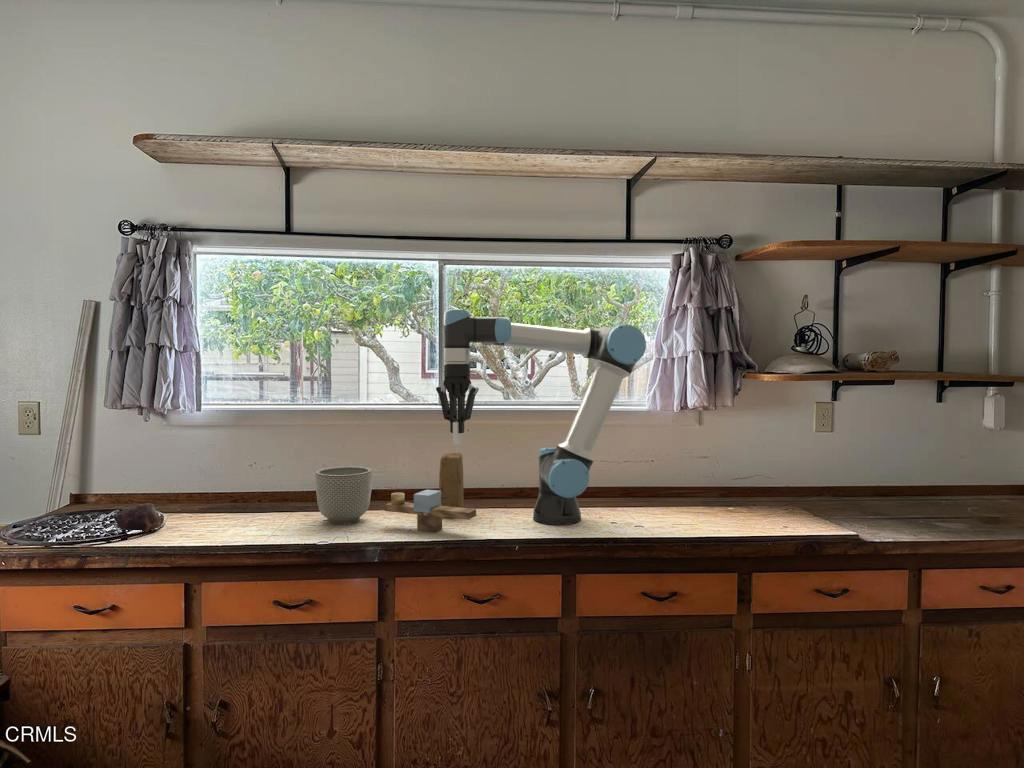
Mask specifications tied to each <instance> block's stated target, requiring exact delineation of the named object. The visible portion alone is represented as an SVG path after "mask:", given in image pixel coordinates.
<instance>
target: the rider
mask: <svg viewBox="0 0 1024 768" xmlns="http://www.w3.org/2000/svg"><path fill="white" fill-rule="evenodd" d="M413 503H414V511H417V512H426V513H429V512H430V509H431V508H433V507H435V506H438V505H439V506H441V491H439V489H438V490H437V489H425V490H421V491H419V492H416V493H414V494H413Z"/></svg>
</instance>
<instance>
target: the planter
mask: <svg viewBox="0 0 1024 768" xmlns="http://www.w3.org/2000/svg"><path fill="white" fill-rule="evenodd" d="M314 479H315V480H314V482H315V491H316V492H315V493H316V503H317V506H318V511H319V512H320V514H321V515H322V516H323V517H324V518H326V519H328V521H329V523H331V524H333V525H336V526H337V525H341V526H343V525H344V524H345V525H350V524H351V525H352V524H354V523H355V524H356V523H357V522H358V521H360V518H361V517H362V516H363V515H366V513H367V511H368V510H369V507H370V503H371V495H372V483H373V482H372V481H373V471H372V469H371V468H369V467H364V466H352V465H351V466H333V467H326V468H321V469H318V470H316V471H315V475H314Z"/></svg>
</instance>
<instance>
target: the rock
mask: <svg viewBox="0 0 1024 768" xmlns="http://www.w3.org/2000/svg"><path fill="white" fill-rule="evenodd" d="M113 518H114V521H115V522H116V525H117V527H118V528H119V527H120V528H121V529H123V530H142V531H145V532H144V533H147V532H150V531H149V530H151V529H155V528H157V529H158V528H160V527H162V525H163V523H164V521H165V516H163V515H158V513H157V510H156V509H155V506H154V504H153V503H152V502H151V503H150V502H149V503H146V502H145V503H142V504H137V505H136V506H134V507H130V508H125V509H122V510H121V511H119V512H117V513H116V514H115V515H113ZM155 530H156V529H155Z"/></svg>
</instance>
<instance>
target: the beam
mask: <svg viewBox="0 0 1024 768" xmlns="http://www.w3.org/2000/svg"><path fill="white" fill-rule="evenodd" d="M405 495H406V494H405V493H404V492H400V491H399V492H392V493H391V494H390V496H391V497H390V498H391V499H390V500H391V501H390V502H388V503H386V504H384V512H390V513H401V514H410V515H416V525H417V526H416V527H417V529H416V530H417V532H422V533H423V532H424V533H430V534H431V533H432V534H433V533H434V534H435V533H438V532H439V531H441V530H443V518H446V519H447V518H449V519H459V520H471V519H473V518H474V517H477V508H468V507H463V508H460V507H449V506H439V505H438V506H435V507H433V508H431V509H430V512H429V513H426V512H417V511H414V502H408V501H407V502H406V500H405V499H406V498H405V497H406V496H405Z"/></svg>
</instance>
